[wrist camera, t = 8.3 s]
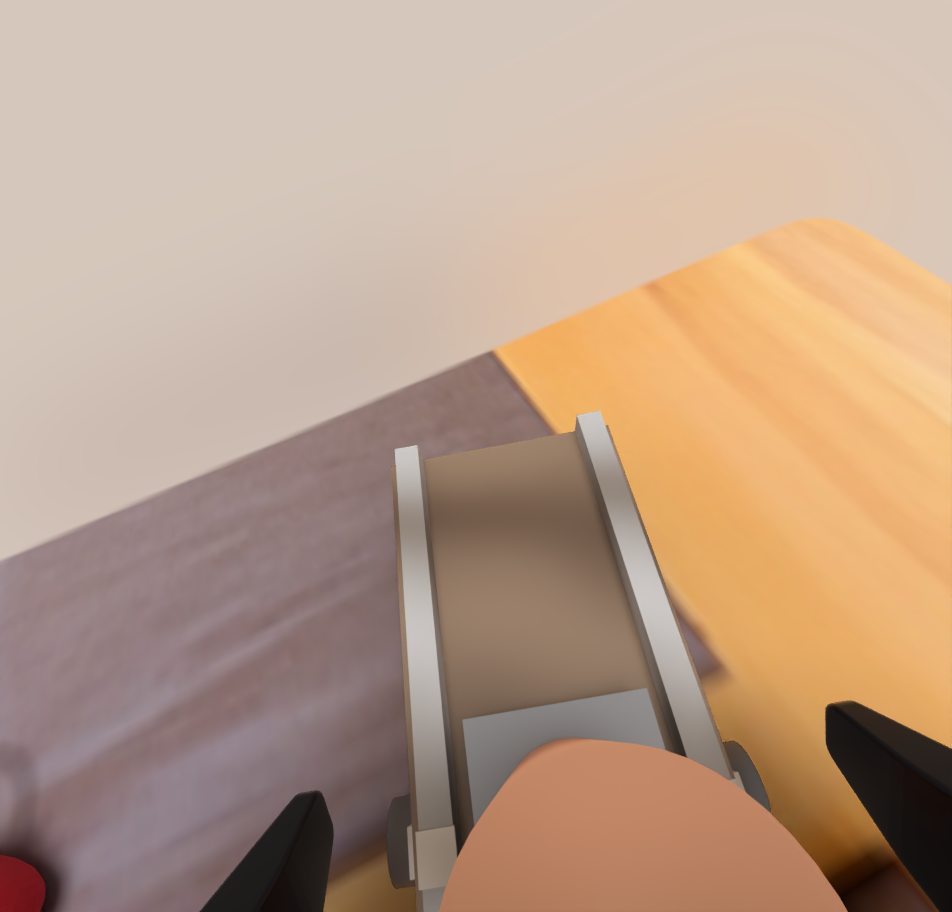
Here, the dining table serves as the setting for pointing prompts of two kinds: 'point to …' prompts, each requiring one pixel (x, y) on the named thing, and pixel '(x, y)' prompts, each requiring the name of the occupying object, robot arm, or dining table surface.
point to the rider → (616, 822)
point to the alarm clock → (20, 886)
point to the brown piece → (526, 621)
